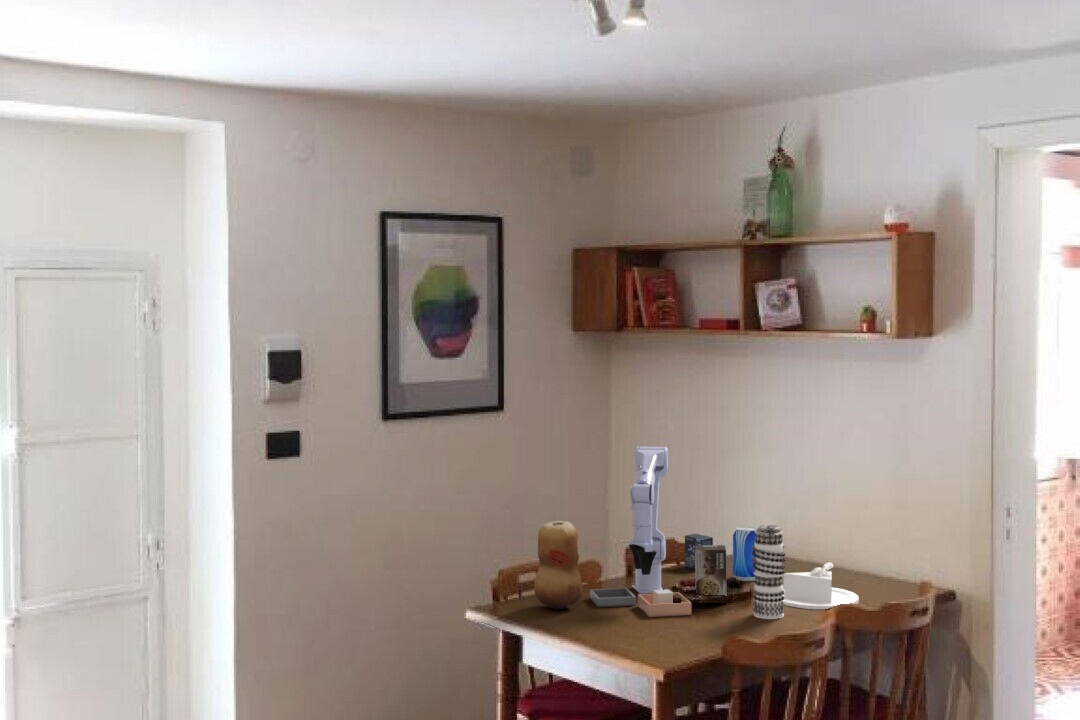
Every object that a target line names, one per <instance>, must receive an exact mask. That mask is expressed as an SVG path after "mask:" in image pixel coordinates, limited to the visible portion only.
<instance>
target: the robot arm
mask: <svg viewBox="0 0 1080 720" xmlns="http://www.w3.org/2000/svg"><path fill="white" fill-rule="evenodd" d="M634 450H635V452H634V461H635V462H634V463H635V468H636V471H637V472H636V474H635V478H634V479H635V480H634V484H633V485H631V486H630V491H629V492H630V493H629V496H630V498H629V499H630V503H631V510H632V516H631V517H632V526H631V527H632V539H629V540H628V543H629V544H628V548H629V550H630V551H631V556H632V559H633V564H634V567H635V572H634V573H635V575H634V576H635V577H634V578H635V581H634V582H635V584H633V585H632V586H631V587H632V588H633V589H634V590H636V592H638V594H653V590H663V587H662V562H664V560H666V555H667V554H666V553H667V544H666V543H667V540H666V537H665V534H664V533H663V532H661V531H660V529H658V521H659V498H660V497H659V496H660V484H661V482H662V478H663V477H665V476H667V474H668V470H669V469H668V468H669V466H668V465H669V449H668V447H667V446H639V445H637V447H635V449H634Z"/></svg>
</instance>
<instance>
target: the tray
mask: <svg viewBox="0 0 1080 720" xmlns="http://www.w3.org/2000/svg"><path fill="white" fill-rule="evenodd" d="M589 599H590V600H591V601H592V602H593V604H594V605H596V606H597V608H609V607H610V608H611V607H612V608H613V607H614V608H615V607H633V606H634V607H635V606H637V596H635V594H634V593H633V592H632V591H630V590H629V589H628V588H627V587H621V588H620V587H619V588H601V589H600V588H599V589H589Z"/></svg>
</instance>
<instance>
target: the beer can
mask: <svg viewBox="0 0 1080 720" xmlns="http://www.w3.org/2000/svg"><path fill="white" fill-rule="evenodd" d="M757 529H758V528H757V527H755V526H747V525H746V526H737V527H735V531H734V532H733V535H732V575H733V577H734V579H735V578H736V580H737V579H738V580H737V581H740V580H741V581H742V582H753V581H754V582H755V574H754V570H755V569H754V567H753V563H754V562H753V558H754V557H755V556H754V555H753V554H752V551H753V549H752V546H753V545H755V532H754V531H756V530H757ZM755 553H756V552H755Z"/></svg>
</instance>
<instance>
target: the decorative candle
mask: <svg viewBox="0 0 1080 720" xmlns="http://www.w3.org/2000/svg"><path fill="white" fill-rule="evenodd" d="M754 532H755V545H753V546H752V549H753V551H752V554H753V555H754V556H755V557H754V558H753V562H754V563H753V567H754V569H755V570H754V574H755V581H754V589H753V591H752V593H753V594H754V595H753V596H752V597H753V599H754V601H753V603H752V606H753V609H752V611H753V616H754V617H756V618H759V619H763V620H779V619H782V618H784V617H785V614H784V612H785V608H784V607H785V606H786V605H785V604H784V603H783V601H782V600H784V596H782V595H783V594H784V591H783V588H784V583H783V577H784V573H785V571H784V569H785V568H786V567H785V565H784V564H783V563H784V562H786V559H785V558H784V557H785V556H786V553H785V552H784V551H783V549H784V548H785V545H784V541H783V534H784V531H782V529H781V527H780V526H778V525H773V524H764V525H763V524H762V525H759V526H758V528H757V530H756V531H754ZM755 552H756V553H755ZM778 618H779V619H778Z"/></svg>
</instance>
